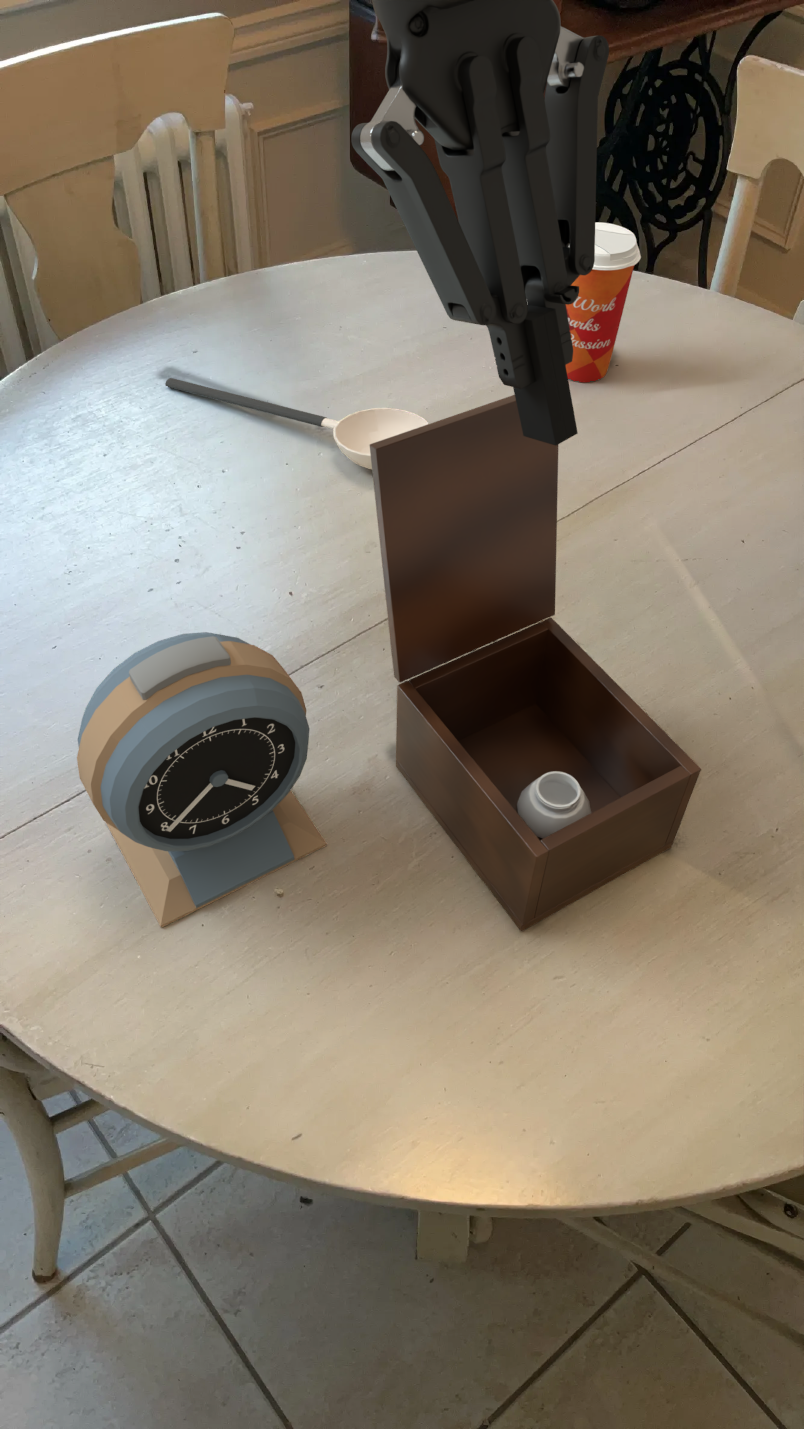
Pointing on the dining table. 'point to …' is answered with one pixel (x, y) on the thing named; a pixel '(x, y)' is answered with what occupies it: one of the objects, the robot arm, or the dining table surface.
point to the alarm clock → (198, 768)
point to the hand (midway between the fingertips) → (550, 434)
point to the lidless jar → (552, 803)
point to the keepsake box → (540, 767)
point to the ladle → (327, 420)
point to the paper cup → (601, 302)
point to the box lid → (464, 534)
